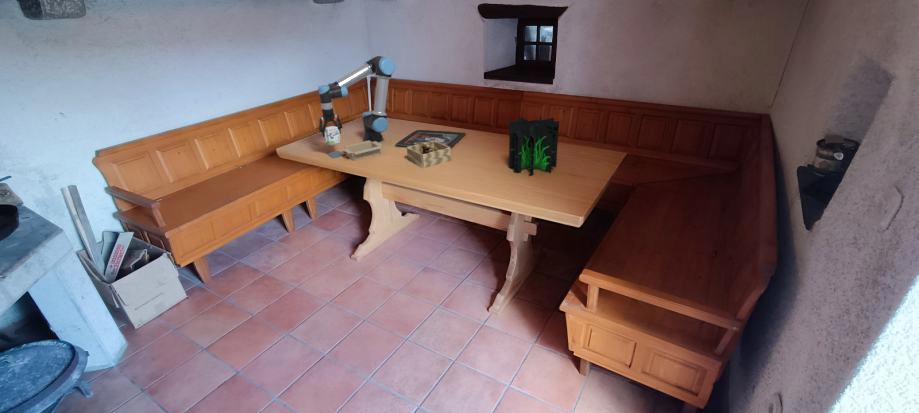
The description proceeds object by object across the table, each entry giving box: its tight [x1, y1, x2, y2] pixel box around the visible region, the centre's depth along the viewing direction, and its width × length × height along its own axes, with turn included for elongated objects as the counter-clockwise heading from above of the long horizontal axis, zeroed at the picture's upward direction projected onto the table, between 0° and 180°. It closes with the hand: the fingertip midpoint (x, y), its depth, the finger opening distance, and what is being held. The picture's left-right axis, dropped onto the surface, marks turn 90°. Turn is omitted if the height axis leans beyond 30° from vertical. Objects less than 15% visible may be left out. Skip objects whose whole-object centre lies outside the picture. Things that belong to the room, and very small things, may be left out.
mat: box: [326, 150, 345, 159], centre depth 311 cm, size 9×12×1 cm
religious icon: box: [395, 129, 467, 149], centre depth 331 cm, size 40×45×3 cm
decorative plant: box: [508, 115, 560, 177], centre depth 267 cm, size 29×30×30 cm
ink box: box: [325, 125, 341, 146], centre depth 304 cm, size 9×5×12 cm, turn 137°
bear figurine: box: [422, 143, 434, 154], centre depth 293 cm, size 14×15×12 cm
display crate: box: [406, 140, 452, 169], centre depth 292 cm, size 23×22×9 cm
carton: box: [342, 140, 383, 162], centre depth 307 cm, size 26×22×6 cm
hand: (332, 139), depth 306 cm, fingers closed on ink box, 9 cm apart
